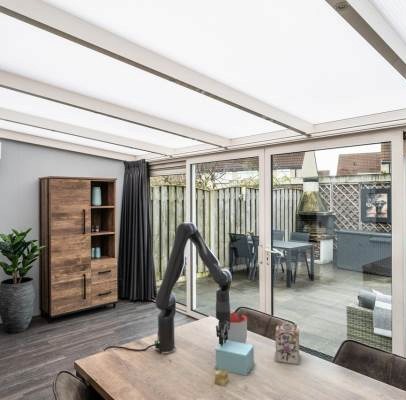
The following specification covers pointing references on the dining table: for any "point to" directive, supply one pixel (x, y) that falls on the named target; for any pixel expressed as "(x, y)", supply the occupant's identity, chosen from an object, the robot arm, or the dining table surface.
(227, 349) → the freezer lid
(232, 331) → the citrus juicer
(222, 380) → the block
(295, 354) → the decorative jar
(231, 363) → the box
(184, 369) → the dining table surface
